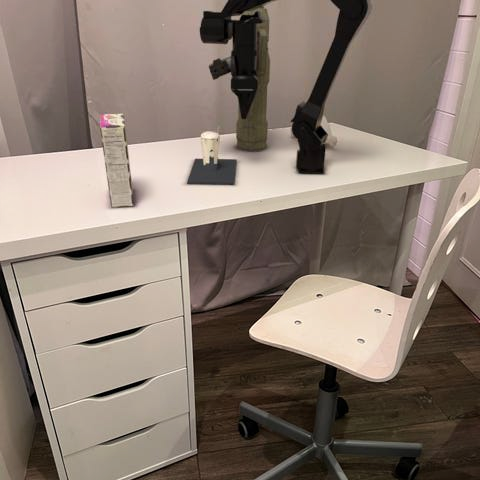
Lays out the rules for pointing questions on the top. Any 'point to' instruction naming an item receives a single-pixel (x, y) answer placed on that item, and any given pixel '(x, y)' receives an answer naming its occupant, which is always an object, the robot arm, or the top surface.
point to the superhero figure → (330, 139)
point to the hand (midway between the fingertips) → (243, 115)
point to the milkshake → (210, 150)
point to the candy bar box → (116, 160)
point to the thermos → (257, 95)
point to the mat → (213, 173)
